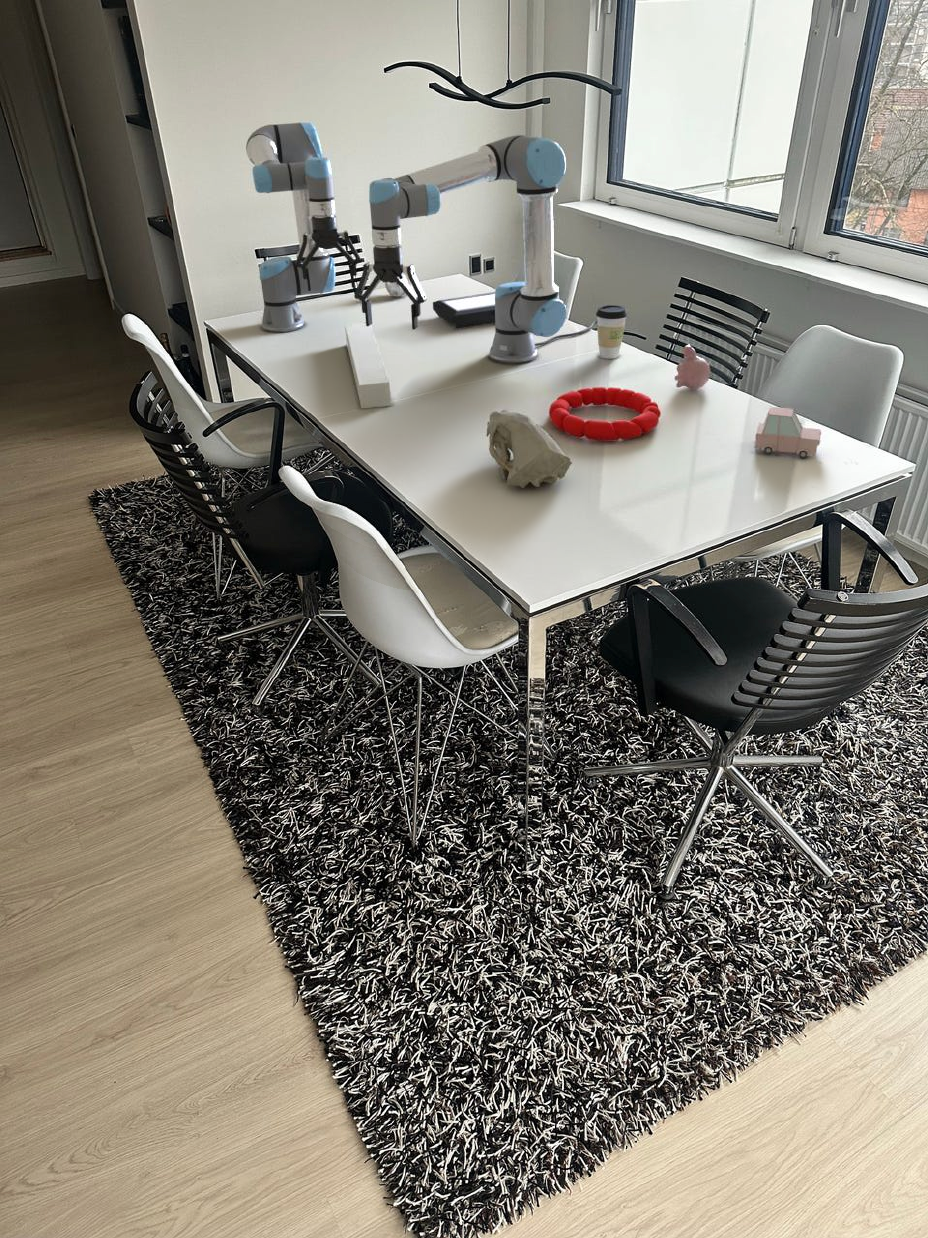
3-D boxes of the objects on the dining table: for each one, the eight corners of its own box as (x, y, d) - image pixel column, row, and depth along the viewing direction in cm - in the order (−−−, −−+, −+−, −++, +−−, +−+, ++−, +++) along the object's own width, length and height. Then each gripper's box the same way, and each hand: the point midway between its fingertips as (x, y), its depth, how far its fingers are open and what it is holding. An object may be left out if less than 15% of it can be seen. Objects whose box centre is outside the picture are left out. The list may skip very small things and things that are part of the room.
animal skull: (496, 517, 219) (521, 479, 201) (463, 429, 225) (484, 384, 207) (557, 503, 225) (586, 465, 206) (523, 417, 231) (549, 373, 212)
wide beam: (347, 345, 306) (344, 324, 302) (372, 343, 307) (370, 322, 303) (361, 408, 257) (359, 384, 253) (391, 405, 258) (389, 382, 254)
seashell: (379, 296, 357) (377, 270, 351) (412, 290, 362) (411, 264, 357) (389, 302, 349) (388, 275, 343) (423, 296, 355) (422, 270, 349)
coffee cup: (626, 360, 285) (629, 312, 276) (595, 360, 285) (598, 313, 277) (622, 350, 293) (625, 303, 284) (592, 351, 293) (594, 304, 285)
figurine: (665, 387, 264) (669, 347, 257) (693, 380, 268) (698, 340, 261) (686, 396, 257) (690, 355, 250) (714, 388, 262) (720, 348, 255)
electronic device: (454, 313, 312) (432, 299, 327) (455, 331, 315) (433, 317, 330) (535, 300, 322) (510, 288, 337) (534, 318, 326) (510, 305, 341)
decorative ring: (589, 435, 224) (684, 402, 234) (527, 398, 247) (617, 369, 256) (589, 461, 229) (683, 427, 238) (529, 422, 251) (617, 393, 260)
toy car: (816, 461, 219) (824, 423, 213) (752, 454, 224) (758, 416, 218) (817, 446, 226) (825, 408, 221) (755, 439, 231) (761, 402, 225)
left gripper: (281, 220, 264) (291, 293, 276) (365, 215, 267) (371, 288, 279) (281, 215, 270) (291, 287, 282) (363, 210, 273) (370, 282, 285)
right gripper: (337, 245, 235) (345, 327, 247) (427, 250, 229) (430, 333, 241) (349, 240, 241) (355, 319, 253) (436, 244, 235) (438, 325, 247)
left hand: (331, 288), depth 280 cm, fingers open, 13 cm apart
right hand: (392, 326), depth 247 cm, fingers open, 13 cm apart
